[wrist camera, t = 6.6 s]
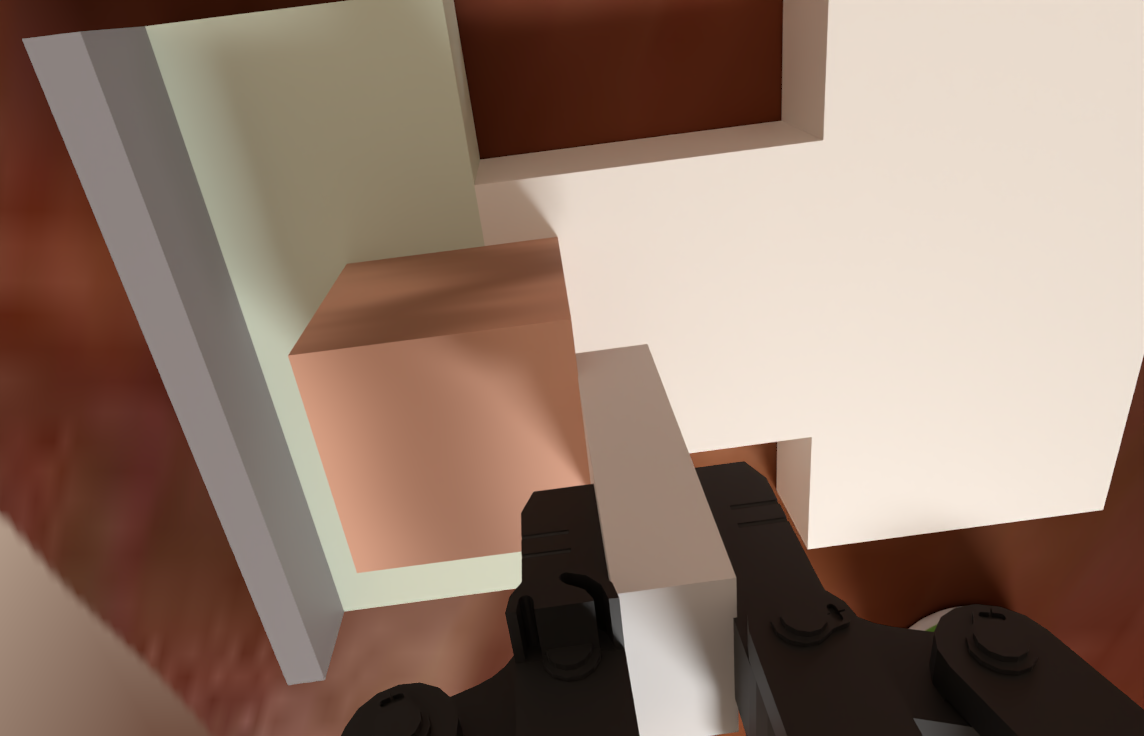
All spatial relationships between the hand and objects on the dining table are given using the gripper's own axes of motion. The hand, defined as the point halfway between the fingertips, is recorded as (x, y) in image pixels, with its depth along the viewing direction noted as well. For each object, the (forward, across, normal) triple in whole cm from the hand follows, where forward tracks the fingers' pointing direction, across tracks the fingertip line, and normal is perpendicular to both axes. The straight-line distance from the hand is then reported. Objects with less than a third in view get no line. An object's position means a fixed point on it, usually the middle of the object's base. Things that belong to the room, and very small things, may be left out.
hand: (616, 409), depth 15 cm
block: (+4, +3, 0) cm, 5 cm away
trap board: (+7, -3, 0) cm, 7 cm away
